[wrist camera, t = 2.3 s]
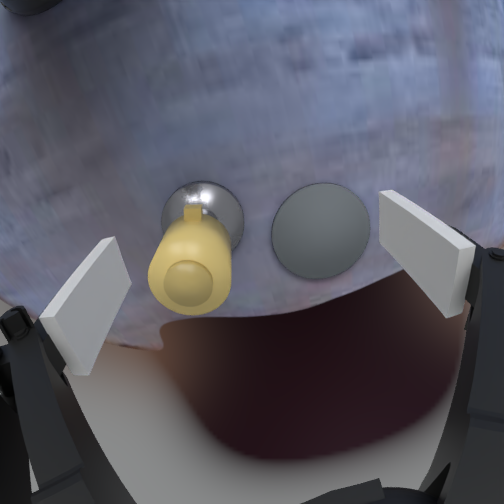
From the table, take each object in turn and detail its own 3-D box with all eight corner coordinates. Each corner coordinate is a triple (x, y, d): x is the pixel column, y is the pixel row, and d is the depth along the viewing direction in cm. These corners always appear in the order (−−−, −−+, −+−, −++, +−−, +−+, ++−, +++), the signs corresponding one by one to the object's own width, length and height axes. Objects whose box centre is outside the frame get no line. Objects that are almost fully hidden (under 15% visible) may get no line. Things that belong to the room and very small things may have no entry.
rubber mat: (269, 276, 42) (269, 279, 42) (274, 181, 37) (274, 182, 36) (359, 274, 43) (361, 277, 42) (374, 185, 37) (376, 187, 37)
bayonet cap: (168, 284, 34) (154, 329, 27) (159, 202, 30) (138, 233, 23) (231, 284, 34) (231, 330, 27) (231, 201, 30) (230, 232, 23)
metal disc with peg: (166, 257, 40) (155, 286, 34) (160, 182, 36) (144, 199, 29) (243, 256, 41) (245, 286, 34) (244, 180, 36) (246, 197, 30)
